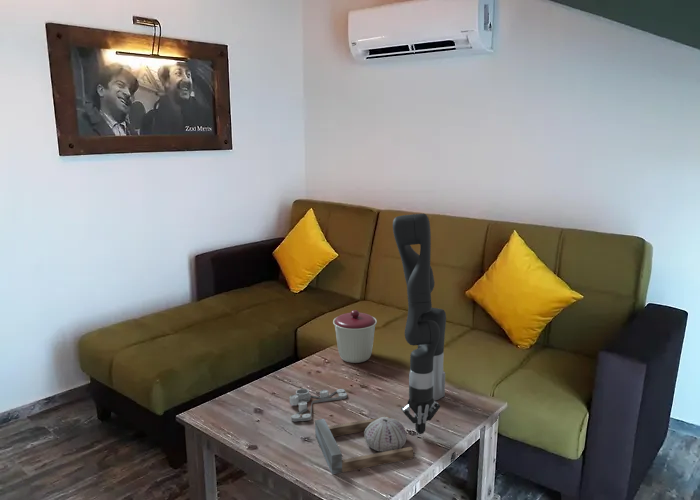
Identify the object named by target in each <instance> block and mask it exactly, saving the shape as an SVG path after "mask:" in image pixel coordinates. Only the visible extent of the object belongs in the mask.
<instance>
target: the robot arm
mask: <svg viewBox="0 0 700 500" xmlns="http://www.w3.org/2000/svg"><path fill="white" fill-rule="evenodd" d="M429 220H430V219H429V217H428V215H427V214H426V213H416V214H415V213H412V214H405V215H399V216H395V217H394V218H393V220H392V231H393V238H394V241H395V243H396V246H397V250H398V254H399V255H400V259H401V264H402V267H403V268H402V269H403V275H404V279H405V283H406V294H407V303H408V304H407V305H408V309H407V317H406V323H405V326H404V327H405V328H404V338H405V341H406V342H407V343H408V344H409V345H411V346H417V348H415V349H413V350H411V352H410V358H409V359H410V363H409V364H410V365H409V375H408V400H407V404H406V405H405V406H402V407H401V408H400V409H401V412H402V413H403V414H404V415H405V416H406V417H407V418H408V420H410V422H411V423H412V424H415V431H416V433H418V435H423V434H425V433H424V432H426V423H427V422H428V421H431V420H432V419H433V418H434V416H435V415H436V414H437V412H438V411H439V409H440V408H441V405H440V403H439V402H438V400H440V399H442V398H443V397H445V393H446V372H445V370H444V355H445V352H444V351H445V350H444V349H445V340H446V339H445V338H446V337H445V336H446V334H445V333H446V325H447V324H446V323H447V314H446V311H445V310H444V309H443V308H437V307H432V305H433V304H432V292H433V290H434V288H435V278H434V272H433V268H432V266H431V255H432V254H431V253H432V252H431V250H432V249H431V247H432V246H431V245H432V243H431V240H432V239H431V238H432V237H431V234H432V233H431V224H430V221H429ZM413 245H420V248H419V249H420V251H419V253H418V252H416V251H415V250H414V249H413V247H412V246H413ZM411 410H412V411H413V415H414V416H413V415H412V414H411Z"/></svg>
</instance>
